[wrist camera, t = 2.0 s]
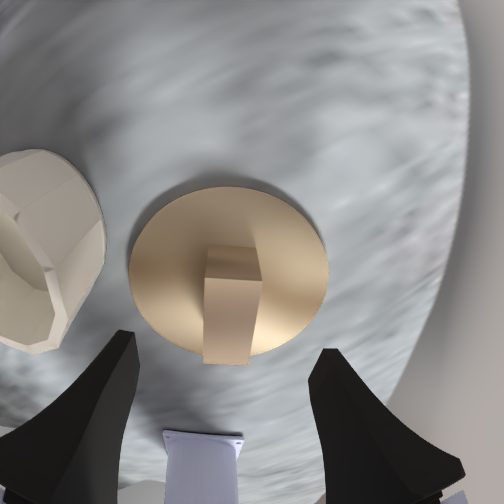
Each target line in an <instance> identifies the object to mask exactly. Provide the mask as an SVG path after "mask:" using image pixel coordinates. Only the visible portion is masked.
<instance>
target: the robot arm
mask: <svg viewBox="0 0 504 504" xmlns="http://www.w3.org/2000/svg"><path fill="white" fill-rule="evenodd" d="M139 369H140V363H139V357H138V352H137V346H136V339H135V333H134V332H130V331H124V330H118V331H117V332H116V333H115V335H114V336H113V337H112V338H111V340H110V341H109V342H108V343H107V345H106V346H105V347H104V348H103V350H102V351H101V352H100V353H99V354H98V356H97V357H96V358H95V359H94V360H93V362H92V363H91V364H90V365H89V366H88V367H87V368H86V370H85V371H84V372H83V373H82V374H81V375H80V376H79V377H78V378H77V379H76V380H75V381H74V382H73V383H72V384H71V386H70V387H69V388H68V389H66V390H65V391H64V392H63V393H62V394H61V395H60V396H59V397H58V398H57V399H56V400H55V401H53V402H52V403H51V404H50V405H49V406H47V407H46V408H45V409H44V410H42V411H41V412H40V413H39V414H37V415H36V416H35V417H33V418H32V419H30V420H29V421H27V422H26V423H24V424H23V425H21V426H20V427H18V428H16V429H15V430H13V431H11V432H10V433H8V434H6V435H4V436H2V437H0V484H1V485H2V486H4V487H5V488H6V489H5V490H4V489H2V488H0V504H117V489H118V472H119V460H120V452H121V444H122V439H123V434H124V430H125V427H126V423H127V419H128V416H129V412H130V409H131V405H132V402H133V398H134V395H135V391H136V387H137V381H138V375H139ZM308 384H309V394H310V402H311V406H312V410H313V414H314V418H315V422H316V426H317V431H318V435H319V439H320V443H321V447H322V453H323V461H324V470H325V484H326V504H468V502H467V499H466V496H465V493H464V491H463V490H462V491H460V492H458V493H456V494H454V495H453V496H451V497H449V498H447V499H445V500H444V501H442V502H440V500H439V498H441V497H442V496H443V494H442V491H441V490H443V489H445V488H447V487H449V486H450V485H452V484H454V483H455V482H457V481H459V480H460V479H462V478H464V477H465V475H466V474H465V472H464V469H463V466H462V464H461V461H460V459H459V458H456V457H454V456H452V455H450V454H448V453H446V452H444V451H442V450H440V449H439V448H437V447H435V446H434V445H432V444H430V443H429V442H427V441H426V440H424V439H423V438H421V437H420V436H419V435H417V434H416V433H415V432H413V431H412V430H411V429H409V428H408V427H407V426H406V425H404V424H403V423H402V422H401V421H400V420H399V419H398V418H396V416H394V415H393V414H392V413H391V412H390V411H389V410H388V409H387V408H386V407H385V406H384V405H383V404H382V402H381V401H380V400H379V399H378V398H377V397H376V396H375V395H374V394H373V393H372V391H371V390H370V389H369V388H368V387H367V385H366V384H365V383H364V382H363V381H362V379H361V378H360V377H359V376H358V374H357V373H356V372H355V371H354V369H353V368H352V367H351V365H350V364H349V363H348V362H347V360H346V359H345V358H344V356H343V355H342V354H341V353H340V351H339V350H338V349H337V348H335V349H325V348H323V350H322V352H321V354H320V356H319V358H318V360H317V362H316V364H315V366H314V368H313V370H312V372H311V374H310V376H309V378H308ZM163 439H164V443H165V447H166V451H167V455H168V461H167V472H166V484H165V499H164V504H238V484H237V462H236V460H237V458H238V455H239V453H240V450H241V448H242V446H243V443H244V438H243V437H240V436H219V435H206V434H195V433H186V432H177V431H170V430H164V431H163Z"/></svg>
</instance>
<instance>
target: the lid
mask: <svg viewBox="0 0 504 504" xmlns="http://www.w3.org/2000/svg"><path fill="white" fill-rule="evenodd" d="M328 274H329V272H328V261H327V257H326V253H325V250H324V247H323V245H322V243H321V240H320V239H319V237H318V235H317V234H316V232H315V230H314V229H313V227H312V226H311V225H310V223H309V222H308V221H307V220H306V219H305V218H304V216H302V215H301V214H300V213H299V212H298V211H297V210H296V209H294V208H293V207H292V206H290V205H289V204H287V203H286V202H284V201H282V200H281V199H279V198H276V197H274V196H272V195H270V194H267V193H264V192H261V191H258V190H254V189H249V188H242V187H225V186H222V187H213V188H206V189H202V190H198V191H194V192H191V193H189V194H186V195H184V196H181V197H179V198H177V199H176V200H174V201H172V202H170V203H169V204H167V205H166V206H165V207H163V208H162V209H161V210H159V211H158V212H157V213H156V214H155V215H154V216H153V217H152V218H151V219H150V220H149V222H148V223H147V224H146V226H145V227H144V229H143V230H142V232H141V233H140V235H139V236H138V238H137V240H136V243H135V245H134V247H133V250H132V253H131V257H130V262H129V284H130V289H131V294H132V296H133V299H134V302H135V304H136V306H137V308H138V310H139V312H140V313H141V315H142V316H143V317H144V319H145V320H146V322H147V323H148V324H149V325H150V326H151V327H152V328H153V329H154V330H155V331H156V332H157V333H159V334H160V335H161V336H162V337H164V338H165V339H167V340H168V341H170V342H171V343H173V344H175V345H177V346H179V347H181V348H183V349H186V350H188V351H191V352H194V353H198V354H201V355H203V363H208V364H227V365H248V363H249V357H250V355H255V354H259V353H262V352H266V351H268V350H271V349H273V348H276V347H278V346H280V345H282V344H283V343H285V342H287V341H288V340H290V339H291V338H293V337H294V336H296V335H297V334H298V333H299V332H300V331H302V330H303V329H304V328H305V327H306V326H307V325H308V324H309V323H310V321H311V320H312V319H313V317H314V316H315V315H316V313H317V311H318V310H319V308H320V306H321V304H322V302H323V299H324V296H325V294H326V289H327V285H328Z"/></svg>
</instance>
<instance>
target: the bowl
mask: <svg viewBox="0 0 504 504" xmlns="http://www.w3.org/2000/svg"><path fill="white" fill-rule="evenodd" d="M106 249H107V236H106V228H105V222H104V218H103V214H102V211H101V208H100V205H99V203H98V201H97V198H96V196H95V194H94V192H93V190H92V189H91V187H90V185H89V184H88V182H87V181H86V179H85V178H84V177H83V175H82V174H81V173H80V172H79V171H78V170H77V169H76V168H75V166H74V165H72V164H71V163H70V162H69V161H68V160H66V159H65V158H63V157H62V156H60V155H58V154H56V153H54V152H51V151H48V150H44V149H27V150H24V151H18V152H11V153H8V154H5V155H3V156H0V341H1V342H2V343H4V344H6V345H9V346H11V347H14V348H16V349H19V350H22V351H24V352H27V353H30V354H33V355H34V354H38V353H42V352H46V351H50V350H54V349H58V347H59V346H60V344H61V342H62V340H63V338H64V336H65V334H66V332H67V331H68V329H69V327H70V325H71V323H72V322H73V320H74V318H75V316H76V315H77V313H78V311H79V309H80V308H81V306H82V304H83V303H84V301H85V299H86V298H87V296H88V294H89V293H90V291H91V289H92V287H93V285H94V283H95V280H96V279H97V277H98V276H99V274H100V272H101V270H102V267H103V265H104V261H105V257H106Z"/></svg>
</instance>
